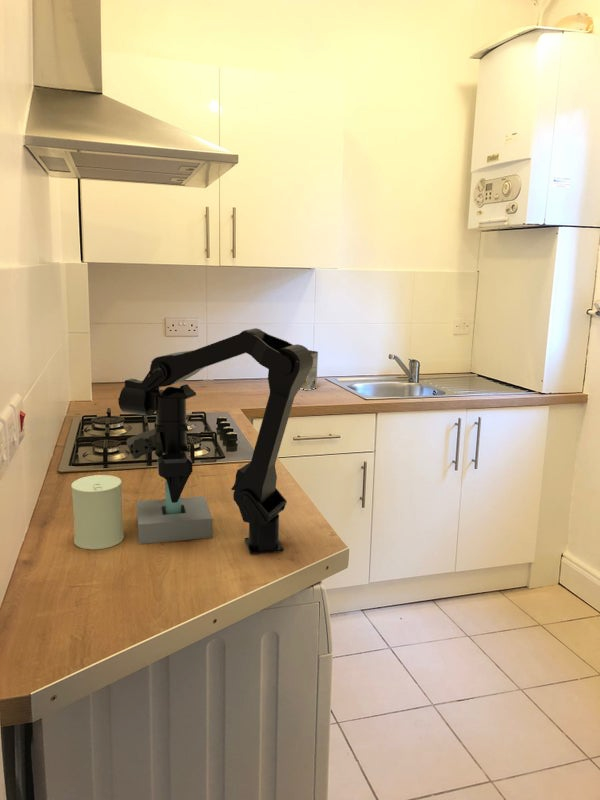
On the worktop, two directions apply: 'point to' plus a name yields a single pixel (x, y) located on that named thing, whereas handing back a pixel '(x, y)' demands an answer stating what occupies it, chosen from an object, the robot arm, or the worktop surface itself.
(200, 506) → the hole block
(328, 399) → the worktop surface
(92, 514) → the can
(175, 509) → the peg
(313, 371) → the coffee box
